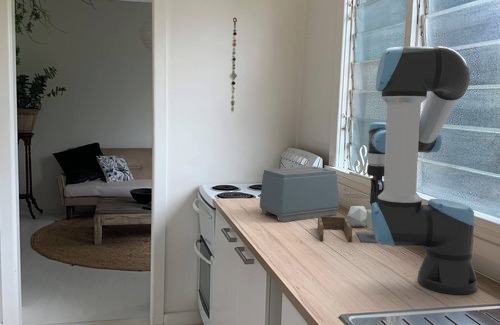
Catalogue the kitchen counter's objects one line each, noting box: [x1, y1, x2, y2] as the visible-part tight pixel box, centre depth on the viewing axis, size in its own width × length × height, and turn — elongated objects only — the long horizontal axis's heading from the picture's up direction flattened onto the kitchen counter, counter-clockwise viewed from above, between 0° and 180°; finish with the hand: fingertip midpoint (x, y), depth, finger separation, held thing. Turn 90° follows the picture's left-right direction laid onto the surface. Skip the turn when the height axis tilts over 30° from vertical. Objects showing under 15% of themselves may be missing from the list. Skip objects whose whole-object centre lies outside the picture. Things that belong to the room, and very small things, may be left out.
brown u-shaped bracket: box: [317, 216, 353, 243], centre depth 178 cm, size 18×11×5 cm, turn 175°
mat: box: [356, 231, 379, 244], centre depth 174 cm, size 12×12×1 cm
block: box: [365, 208, 373, 230], centre depth 174 cm, size 6×6×6 cm
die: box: [346, 205, 367, 228], centre depth 192 cm, size 8×9×10 cm
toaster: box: [259, 166, 340, 223], centre depth 211 cm, size 19×35×20 cm, turn 119°
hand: (375, 225), depth 174 cm, fingers closed on block, 6 cm apart
